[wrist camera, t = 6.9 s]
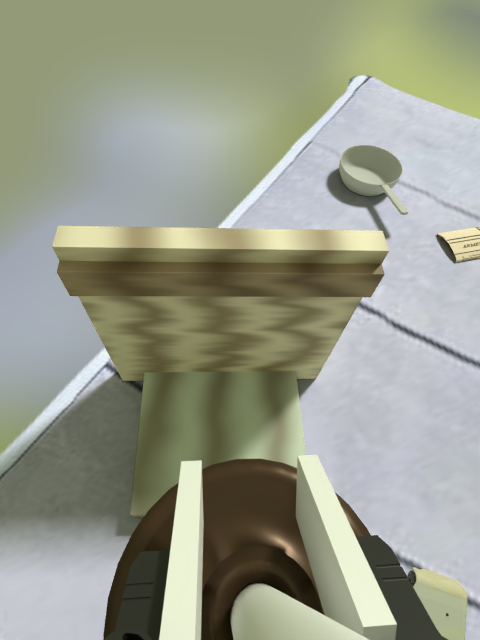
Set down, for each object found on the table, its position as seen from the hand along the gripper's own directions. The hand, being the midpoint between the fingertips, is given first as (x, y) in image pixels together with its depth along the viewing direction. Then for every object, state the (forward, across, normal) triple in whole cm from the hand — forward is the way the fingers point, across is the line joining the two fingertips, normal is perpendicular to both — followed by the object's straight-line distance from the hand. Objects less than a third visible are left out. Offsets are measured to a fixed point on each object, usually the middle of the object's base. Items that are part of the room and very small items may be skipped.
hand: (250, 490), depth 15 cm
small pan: (+57, +28, +16) cm, 65 cm away
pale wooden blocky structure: (+28, -1, -13) cm, 30 cm away
